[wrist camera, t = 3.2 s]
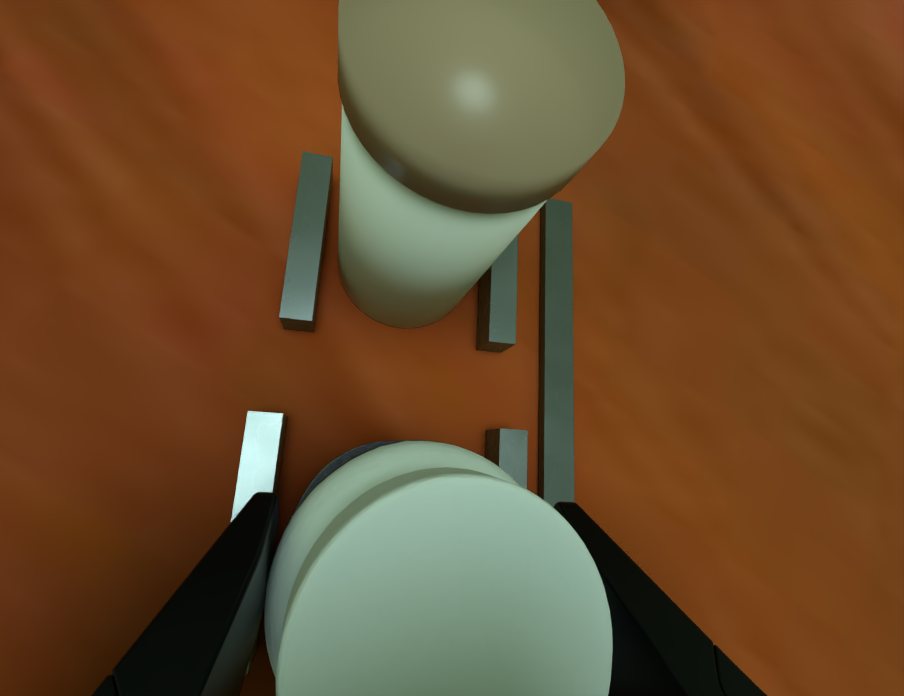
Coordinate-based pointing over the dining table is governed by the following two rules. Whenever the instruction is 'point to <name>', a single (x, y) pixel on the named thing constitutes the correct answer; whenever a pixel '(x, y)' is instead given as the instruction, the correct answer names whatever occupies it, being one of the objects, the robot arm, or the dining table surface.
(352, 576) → the pill bottle
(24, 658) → the dining table surface
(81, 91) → the dining table surface
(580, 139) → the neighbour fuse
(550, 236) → the set of grey bars
